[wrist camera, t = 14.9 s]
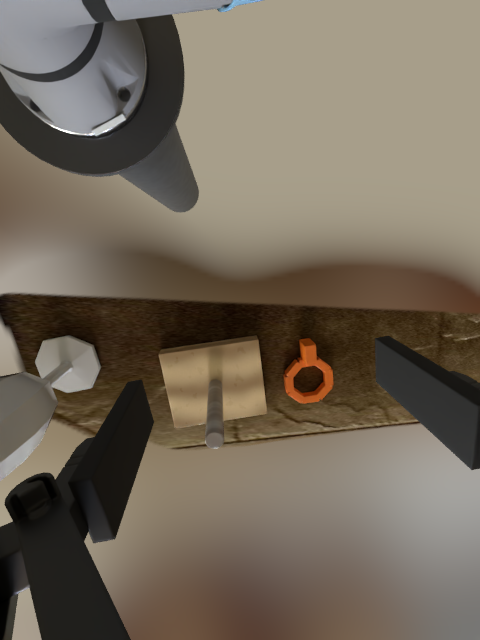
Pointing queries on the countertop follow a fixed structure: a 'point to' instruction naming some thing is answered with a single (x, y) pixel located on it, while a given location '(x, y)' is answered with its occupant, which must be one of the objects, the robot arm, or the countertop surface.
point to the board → (211, 366)
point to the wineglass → (41, 396)
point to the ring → (306, 360)
